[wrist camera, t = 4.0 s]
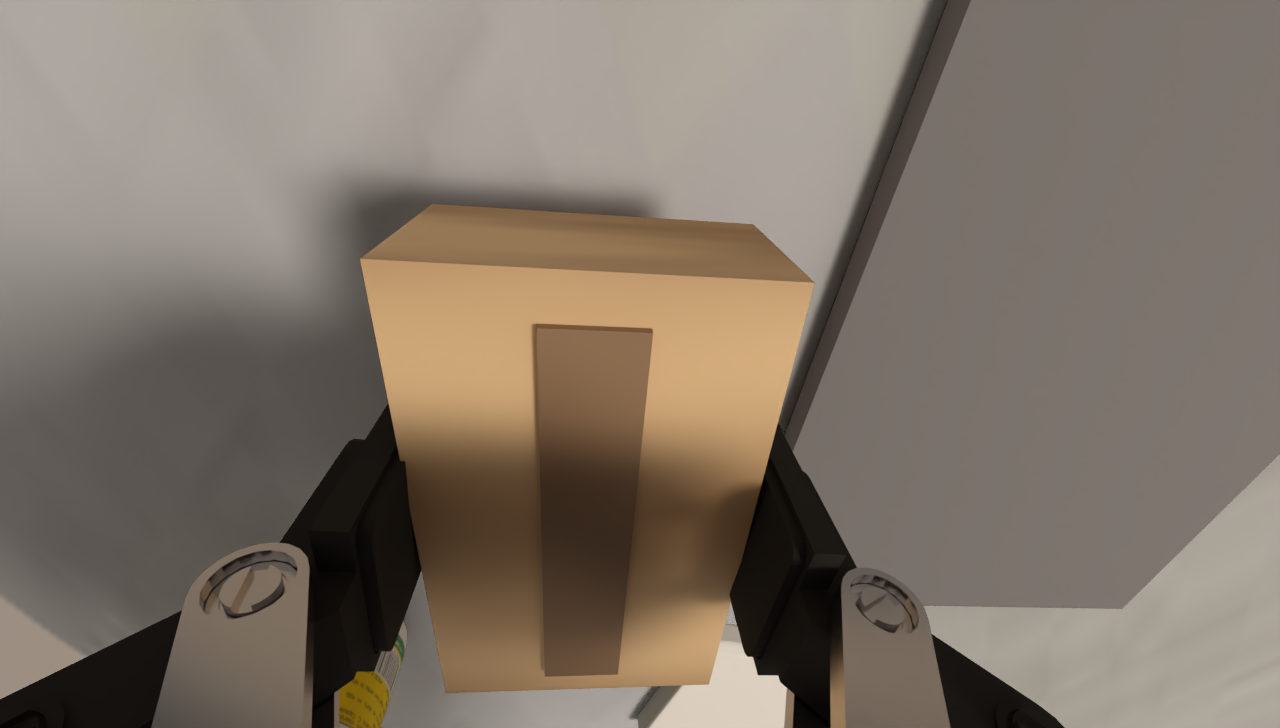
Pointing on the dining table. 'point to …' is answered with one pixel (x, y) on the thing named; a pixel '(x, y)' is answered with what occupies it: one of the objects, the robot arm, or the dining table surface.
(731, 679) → the external hard drive
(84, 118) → the dining table surface
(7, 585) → the dining table surface
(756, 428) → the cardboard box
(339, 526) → the robot arm
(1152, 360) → the rubber mat
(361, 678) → the supplement bottle
